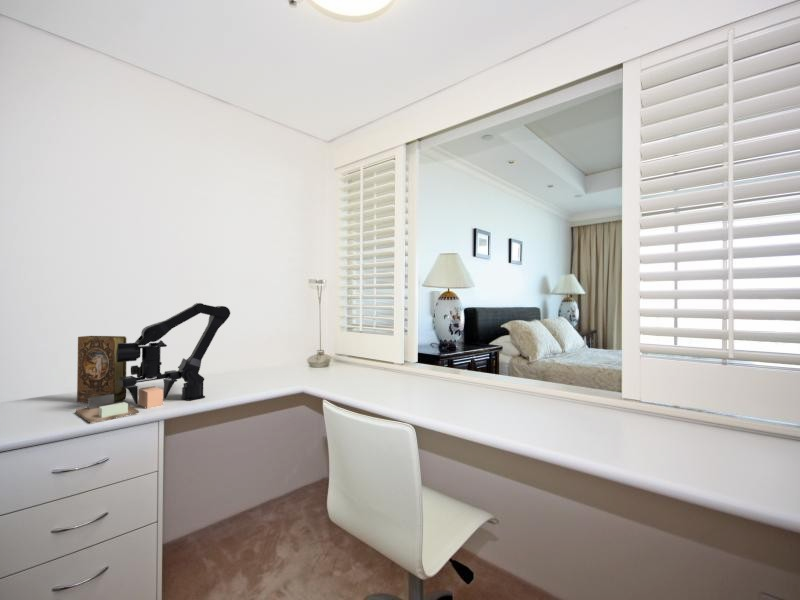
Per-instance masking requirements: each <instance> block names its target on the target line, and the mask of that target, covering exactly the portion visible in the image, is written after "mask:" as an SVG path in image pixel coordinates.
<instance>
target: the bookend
mask: <svg viewBox="0 0 800 600" xmlns="http://www.w3.org/2000/svg"><path fill="white" fill-rule="evenodd" d="M114 403H115V402H114V394H108V395H102V396H96V397H89V403H88V406H87V407H86V408H88V409H95V408H99V407H101V406H107V405H112V404H114Z"/></svg>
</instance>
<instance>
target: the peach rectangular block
mask: <svg viewBox="0 0 800 600" xmlns="http://www.w3.org/2000/svg"><path fill="white" fill-rule="evenodd" d="M163 392H164V389H163V388H159V387H156V386H148V387H141V388H138V403H137V405H139V406H142V407H143V406H144V407H143V408H145V407H146V408H145V409H147V408H149V409H152V408H151V407H154V408H157V407H156V406H159V407H162V406H161V405H163V406H164V398H163Z"/></svg>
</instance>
